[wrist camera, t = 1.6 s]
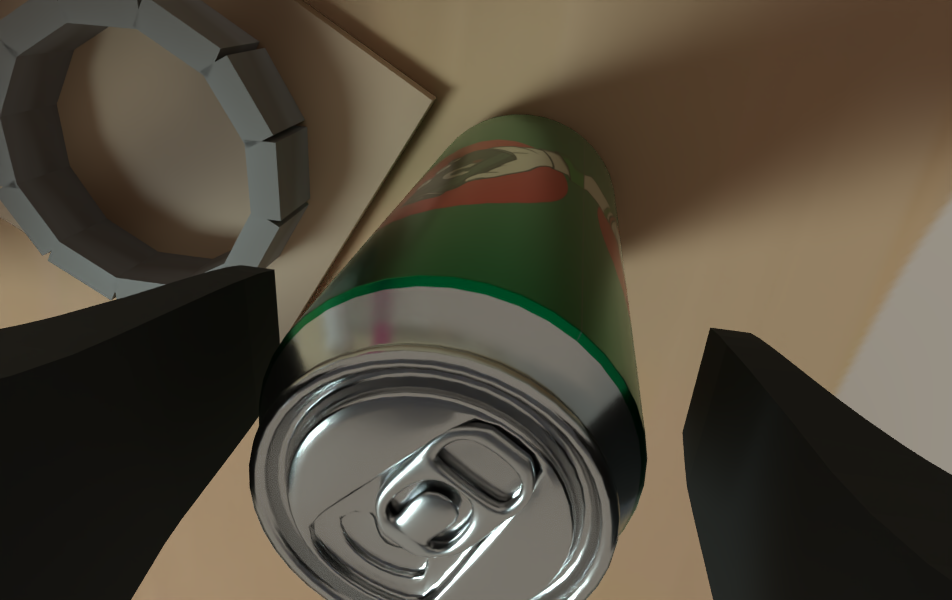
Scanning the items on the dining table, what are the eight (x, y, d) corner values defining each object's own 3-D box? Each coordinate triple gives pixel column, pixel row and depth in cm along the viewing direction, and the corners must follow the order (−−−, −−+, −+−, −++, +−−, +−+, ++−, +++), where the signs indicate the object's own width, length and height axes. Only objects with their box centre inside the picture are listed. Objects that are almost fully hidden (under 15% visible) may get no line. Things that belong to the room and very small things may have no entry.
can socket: (-35, 182, 21) (-110, 206, 18) (60, -175, 16) (-27, -202, 13) (265, 372, 22) (228, 415, 20) (436, 97, 17) (413, 114, 15)
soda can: (397, 209, 19) (145, 507, 8) (512, 68, 17) (376, 218, 6) (529, 317, 20) (459, 716, 9) (654, 197, 17) (759, 531, 7)
